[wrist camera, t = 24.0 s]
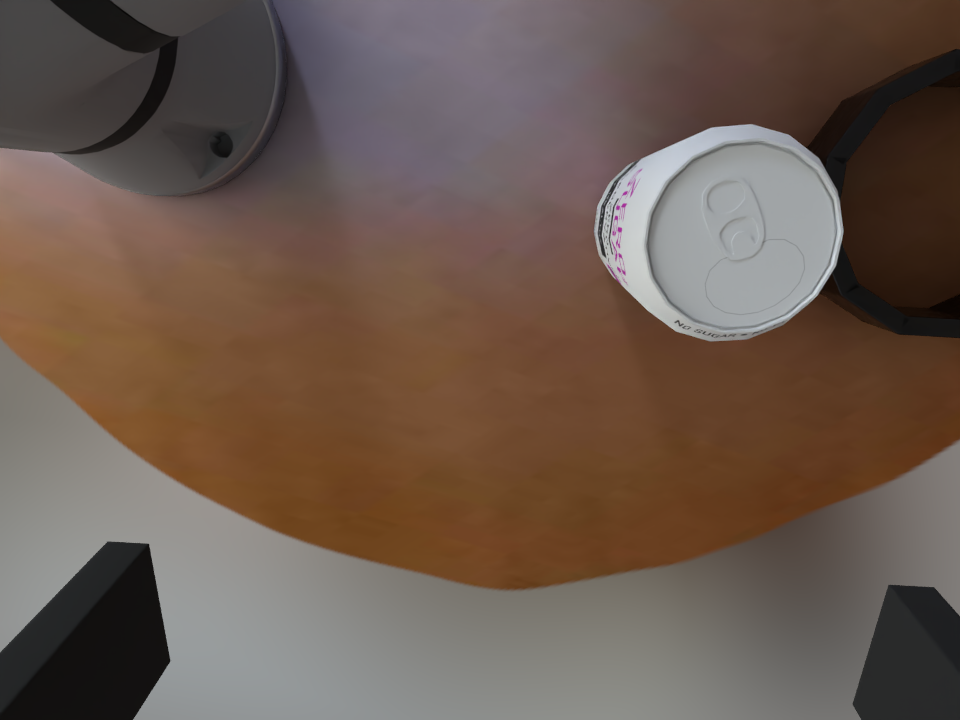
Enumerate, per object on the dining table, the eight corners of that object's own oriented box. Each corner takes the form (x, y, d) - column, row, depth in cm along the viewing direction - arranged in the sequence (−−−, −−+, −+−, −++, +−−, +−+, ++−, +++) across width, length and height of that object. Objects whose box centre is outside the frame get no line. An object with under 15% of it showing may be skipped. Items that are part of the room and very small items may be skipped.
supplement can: (756, 260, 38) (891, 295, 23) (623, 316, 39) (673, 381, 25) (707, 127, 36) (820, 77, 22) (571, 190, 38) (592, 182, 23)
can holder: (773, 316, 39) (799, 328, 35) (811, 63, 35) (845, 45, 31) (1021, 330, 38) (1076, 345, 34) (1085, 71, 34) (1155, 53, 30)
